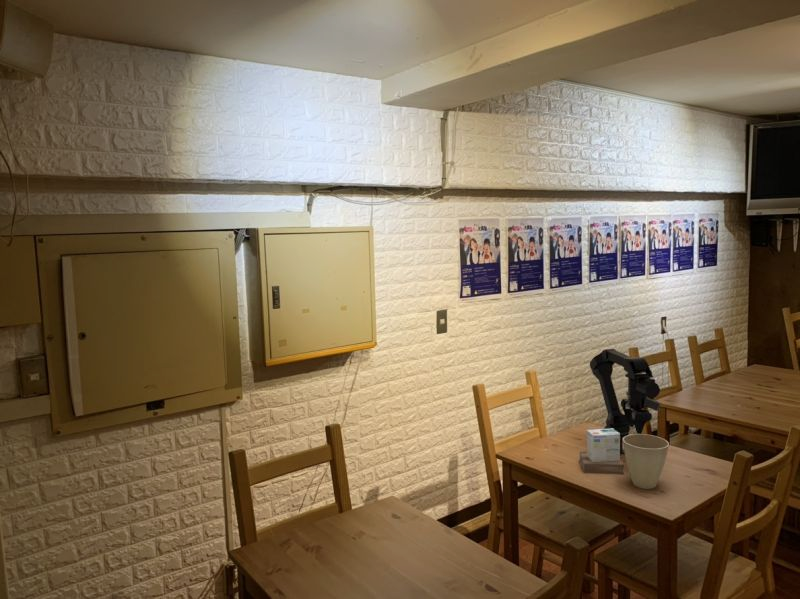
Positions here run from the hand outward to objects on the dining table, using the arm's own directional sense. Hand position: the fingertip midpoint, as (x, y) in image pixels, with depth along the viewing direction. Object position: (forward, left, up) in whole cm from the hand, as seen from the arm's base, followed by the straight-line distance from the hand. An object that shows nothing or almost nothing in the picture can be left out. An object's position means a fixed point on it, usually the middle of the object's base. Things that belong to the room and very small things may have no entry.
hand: (635, 430), depth 230 cm
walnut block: (+3, -14, -14) cm, 19 cm away
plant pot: (+19, -3, -13) cm, 23 cm away
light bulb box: (+3, -13, -10) cm, 17 cm away
